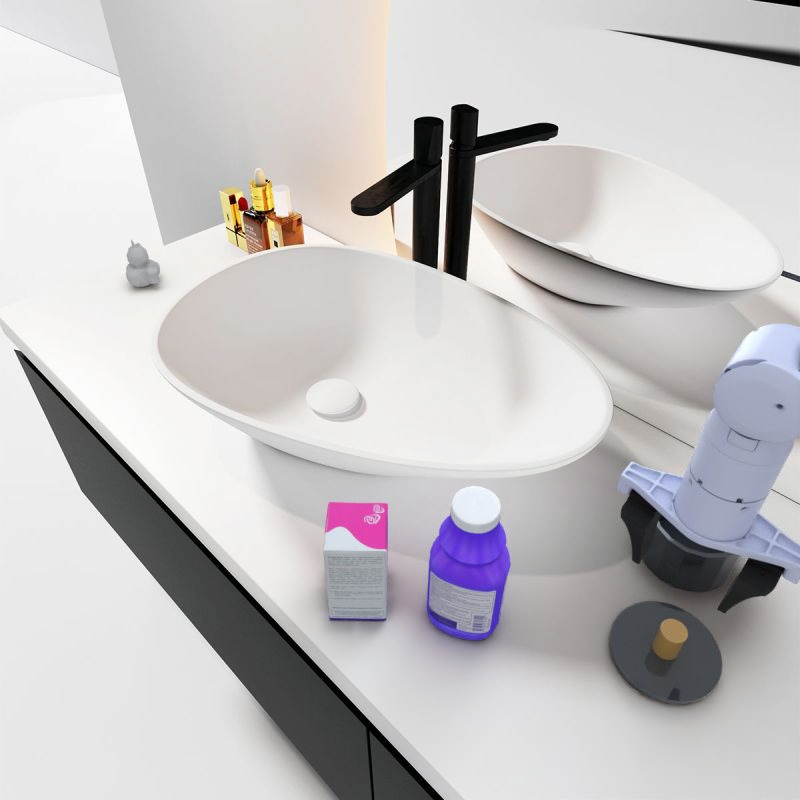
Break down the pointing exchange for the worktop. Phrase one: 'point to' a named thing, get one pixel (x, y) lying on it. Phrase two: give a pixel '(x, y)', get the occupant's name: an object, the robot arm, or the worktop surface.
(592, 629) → the worktop surface
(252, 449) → the worktop surface
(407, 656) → the worktop surface
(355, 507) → the supplement box
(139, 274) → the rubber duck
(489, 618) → the bottle
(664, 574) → the pot
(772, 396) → the robot arm
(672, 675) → the lid
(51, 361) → the worktop surface
